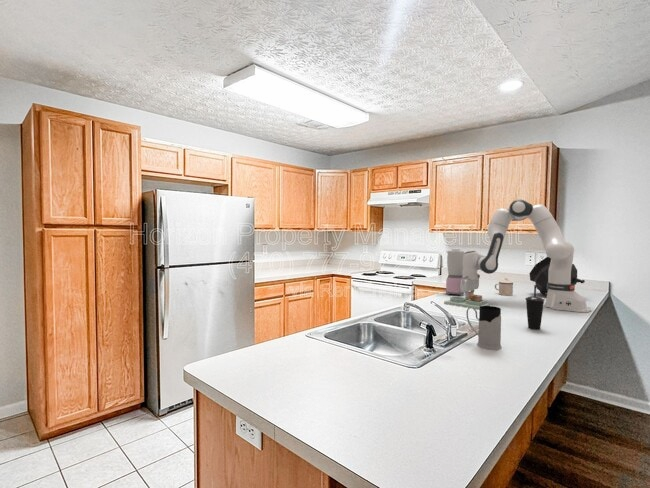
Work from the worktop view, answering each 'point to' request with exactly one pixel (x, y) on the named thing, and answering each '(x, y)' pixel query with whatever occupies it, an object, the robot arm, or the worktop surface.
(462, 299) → the shape board
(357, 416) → the worktop surface
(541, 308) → the drinking cup
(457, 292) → the blender
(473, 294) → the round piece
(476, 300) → the square piece
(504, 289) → the teacup with lid
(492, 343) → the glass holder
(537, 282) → the wok
